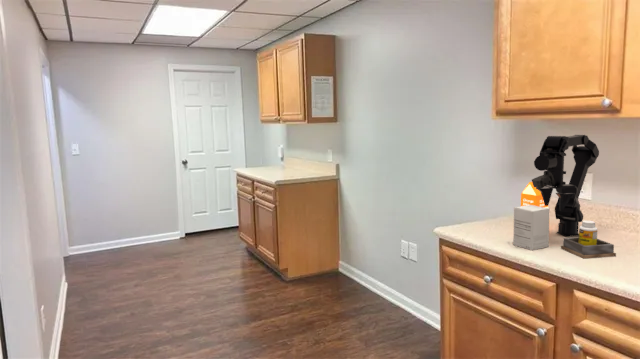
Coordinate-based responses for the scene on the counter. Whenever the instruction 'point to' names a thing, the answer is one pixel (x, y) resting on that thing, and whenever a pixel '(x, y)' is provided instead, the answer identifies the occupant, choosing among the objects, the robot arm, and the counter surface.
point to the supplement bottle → (588, 233)
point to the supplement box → (531, 227)
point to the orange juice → (532, 196)
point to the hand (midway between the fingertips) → (553, 207)
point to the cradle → (588, 248)
